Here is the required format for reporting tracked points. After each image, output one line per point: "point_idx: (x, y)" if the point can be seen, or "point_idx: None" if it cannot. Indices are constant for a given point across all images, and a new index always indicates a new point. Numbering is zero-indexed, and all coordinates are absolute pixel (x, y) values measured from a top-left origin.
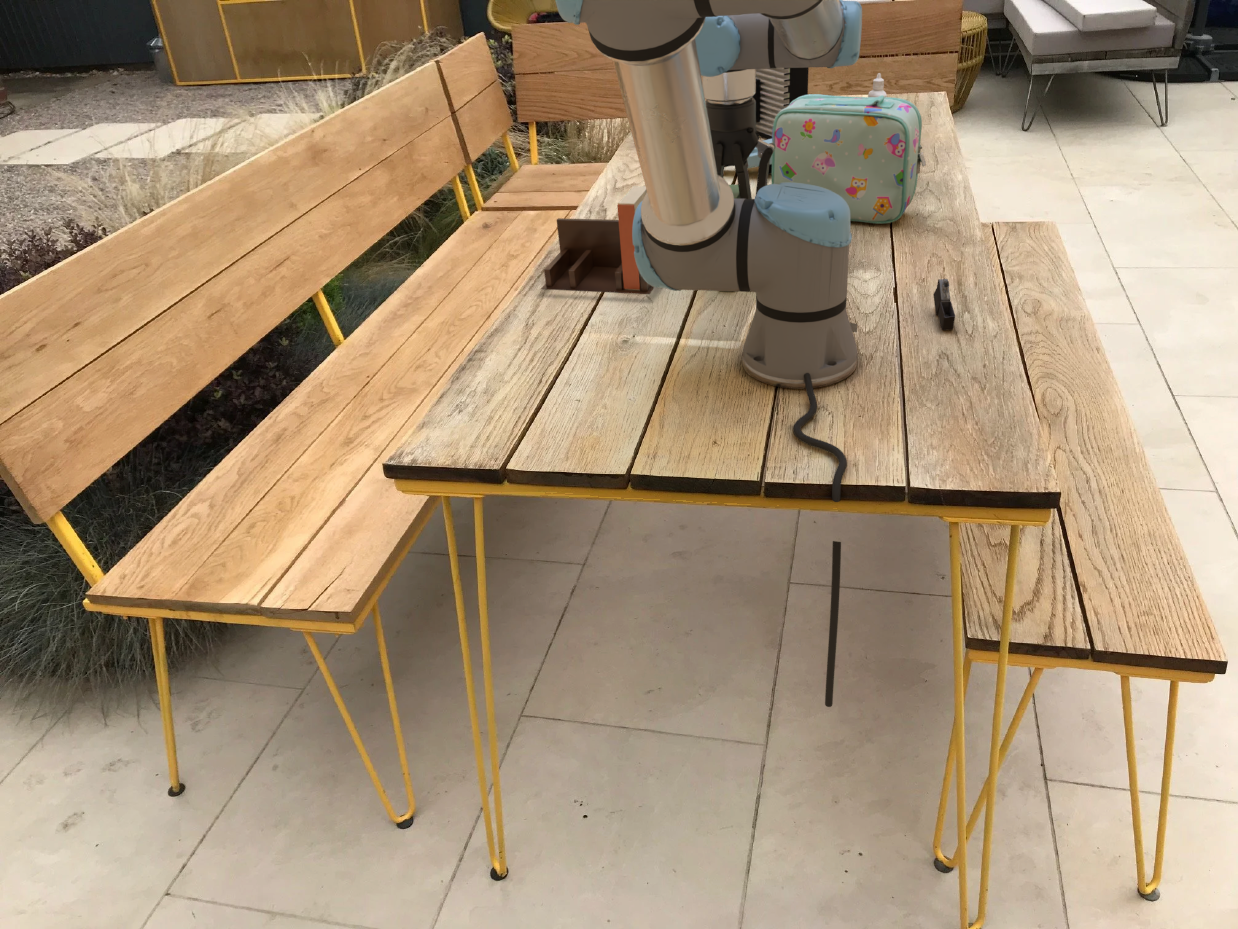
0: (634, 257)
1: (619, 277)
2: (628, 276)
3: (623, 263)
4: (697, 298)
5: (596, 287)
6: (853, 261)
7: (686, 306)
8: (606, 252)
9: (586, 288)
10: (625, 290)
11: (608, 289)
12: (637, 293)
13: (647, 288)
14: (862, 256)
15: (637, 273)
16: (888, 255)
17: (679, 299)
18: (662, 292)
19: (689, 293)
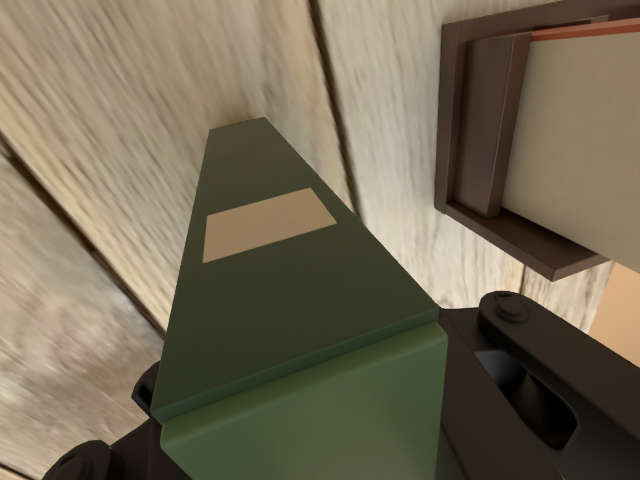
0: (609, 25)
1: (578, 20)
2: (555, 29)
3: (617, 20)
4: (319, 94)
5: None
6: (74, 420)
7: (328, 17)
8: None
9: (621, 9)
10: (525, 28)
11: (568, 20)
12: (491, 15)
13: (471, 42)
14: (75, 441)
15: (538, 35)
16: (24, 467)
17: (366, 68)
18: (422, 102)
19: (353, 121)
